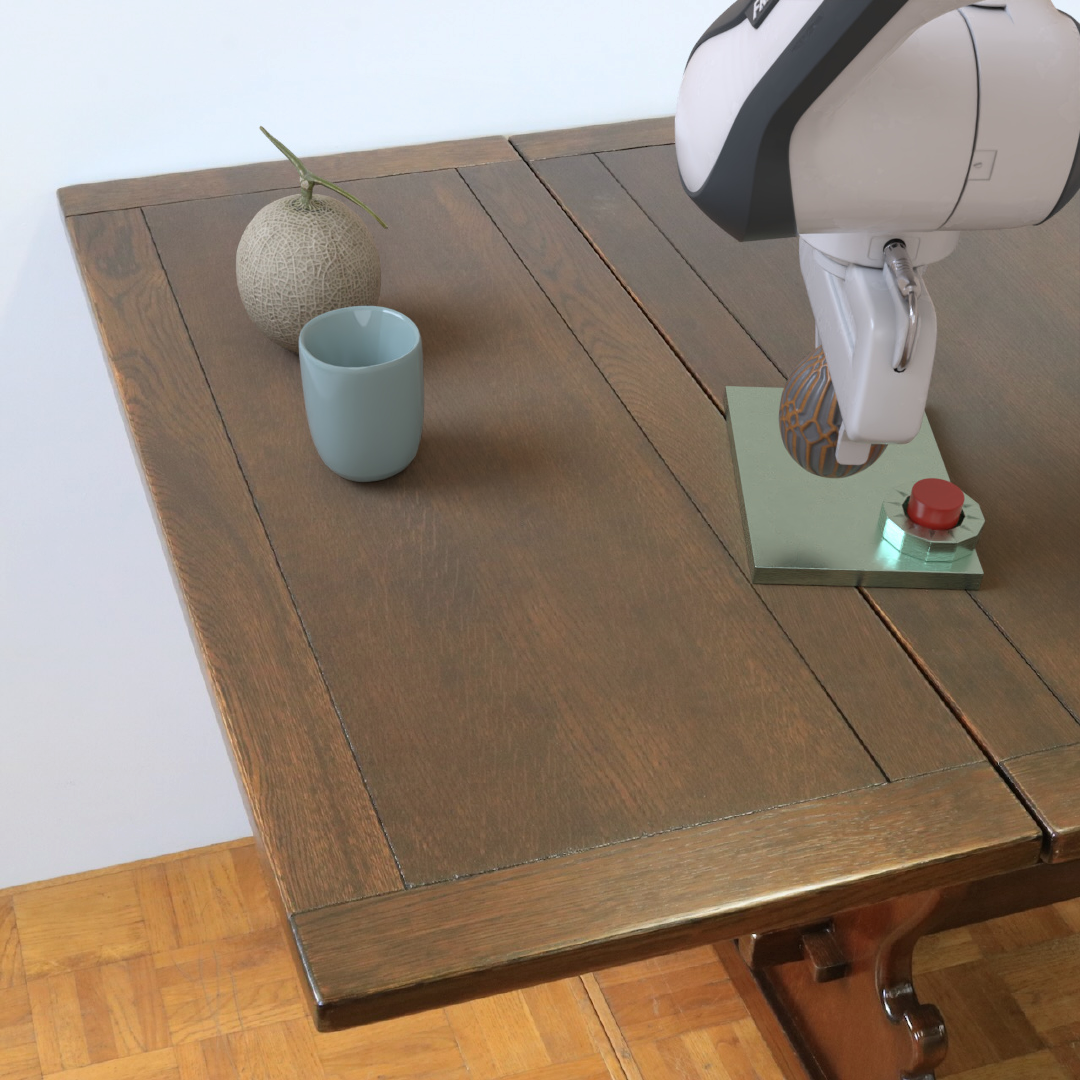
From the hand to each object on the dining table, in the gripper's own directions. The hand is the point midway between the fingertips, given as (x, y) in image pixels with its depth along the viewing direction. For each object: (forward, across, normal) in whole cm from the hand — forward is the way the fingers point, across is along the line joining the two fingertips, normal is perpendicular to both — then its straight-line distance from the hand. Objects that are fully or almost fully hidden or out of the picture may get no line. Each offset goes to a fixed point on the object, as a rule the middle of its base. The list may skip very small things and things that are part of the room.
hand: (837, 416), depth 79 cm
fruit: (+9, +22, +35) cm, 42 cm away
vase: (+3, 0, 0) cm, 3 cm away
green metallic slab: (+9, +5, -2) cm, 11 cm away
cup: (+9, +6, +29) cm, 32 cm away
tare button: (+7, -1, -7) cm, 10 cm away
